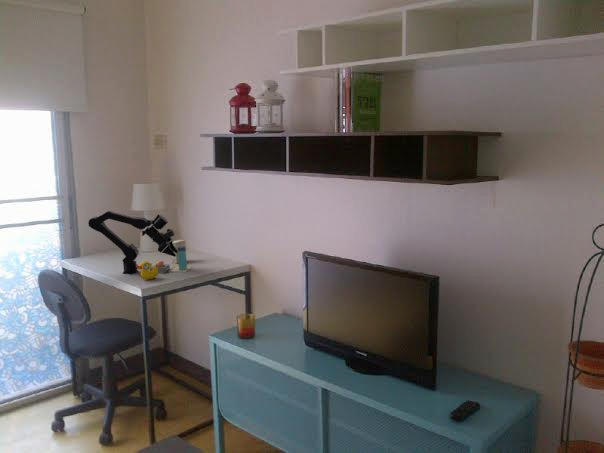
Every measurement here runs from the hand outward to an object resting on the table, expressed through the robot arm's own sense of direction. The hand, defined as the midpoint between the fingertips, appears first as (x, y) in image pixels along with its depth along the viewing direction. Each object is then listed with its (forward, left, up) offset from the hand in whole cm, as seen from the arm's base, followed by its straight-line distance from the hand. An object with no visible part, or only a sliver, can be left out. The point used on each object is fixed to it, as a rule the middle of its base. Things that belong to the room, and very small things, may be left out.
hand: (176, 254), depth 311 cm
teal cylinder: (+3, +1, -9) cm, 9 cm away
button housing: (-9, -3, -9) cm, 13 cm away
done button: (-9, -3, -7) cm, 12 cm away
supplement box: (-7, +19, -9) cm, 22 cm away
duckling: (-8, -20, -9) cm, 24 cm away
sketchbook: (+1, +1, -9) cm, 9 cm away
